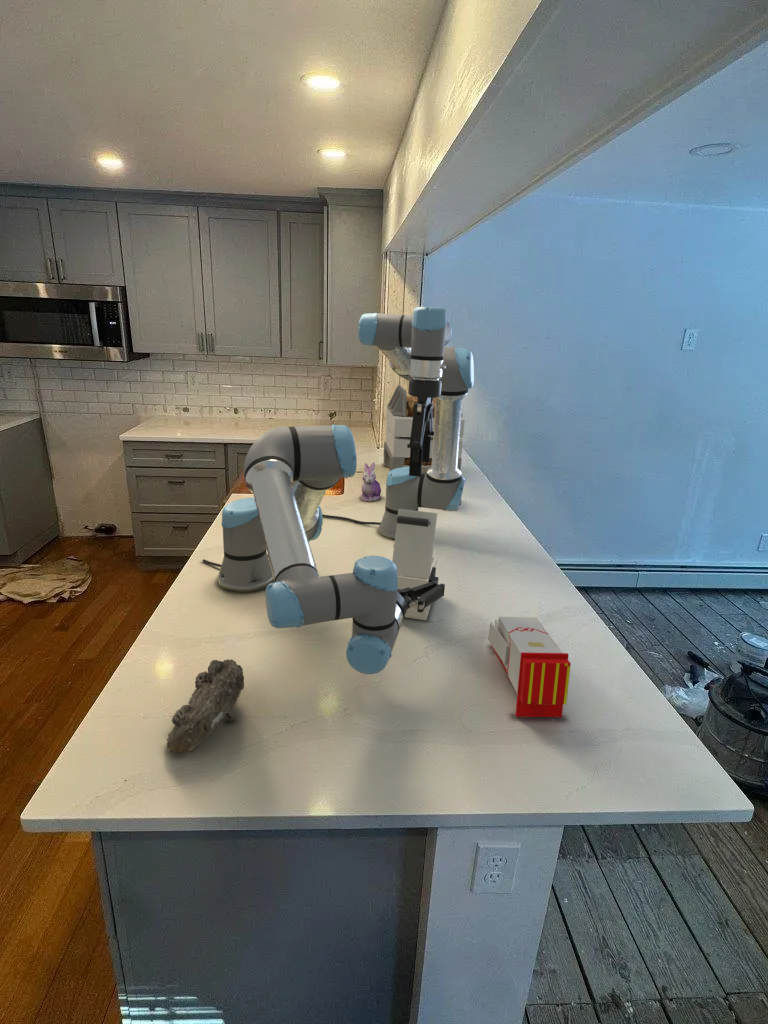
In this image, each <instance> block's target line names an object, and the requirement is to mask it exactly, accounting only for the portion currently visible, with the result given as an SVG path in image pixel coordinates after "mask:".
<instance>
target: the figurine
mask: <svg viewBox="0 0 768 1024" xmlns="http://www.w3.org/2000/svg"><path fill="white" fill-rule="evenodd" d="M363 468H364V470H363V471H364V472H363V474H362V481H363V483H362V485H361V496H360V498H361V500H362V501H364V502H373V501H377V500H380V499H381V495H382V487H381V484H380V482H379V481H378V480H376V479H377V476H376V473H375V468H376V462H372V463H371V465H370V466H369V464H367V462H365V463H364V464H363Z"/></svg>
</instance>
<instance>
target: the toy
mask: <svg viewBox="0 0 768 1024" xmlns="http://www.w3.org/2000/svg"><path fill="white" fill-rule="evenodd" d="M488 625H489V627H488V633H487V641H488V642H489V644H490V646H491V647H490V648H491V649H492V650H493V652H494V654H495V656H496V658H497V659H498V660H499V662H500V664H501V666H502V668H503V669H504V671H505V673H506V674H507V676H508V678H509V680H510V682H511V685H512V686H513V689H514V690H515V693H516V704H515V717H516V718H517V717H518V718H519V717H520V718H521V717H522V718H563V710H564V705H567V701H568V692H569V685H570V684H569V683H570V676H571V675H570V674H571V666H572V664H571V661H570V660H569V655H570V654H569V653H568V652H563V651H562V649H561V648H560V647H559V646H558V644H557V643H556V642H555V640H554V639H553V638H552V636H551V635H550V634H549V632H548V631H547V629H546V628H545V627H544V626H543V624H542V622H541V621H540V620H539V619H538V618H537V616H498V618H496V619H494V623H493V622H489V624H488Z"/></svg>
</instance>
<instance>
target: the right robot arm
mask: <svg viewBox="0 0 768 1024" xmlns="http://www.w3.org/2000/svg"><path fill="white" fill-rule="evenodd" d="M447 314H448V313H447V309H446V308H445V307H436V306H435V307H434V306H415V308H413V312H412V314H395V313H378V312H370V313H367V312H366V313H363V314H362V315H361V316H360V318H359V322H358V331H357V332H358V334H357V335H358V341H359V342H360V344H361V345H364V346H369V347H377V348H378V349H379V351H380V352H381V353H382V354H383V355H384V356H385V358H386V359H387V360H388V363H389V366H390V369H392V371H393V372H394V373H395V374H396V375H398V376H399V377H400V378H402V379H404V380H406V381H407V382H408V387H407V388H408V389H407V391H408V392H407V394H408V396H413V397H417V398H418V400H417V403H415V404H414V414H413V421H412V429H411V437H410V443H409V444H407V448H411V449H410V466H404V467H401V468H396V469H393V470H391V471H390V470H389V472H388V473H387V475H386V482H385V504H384V505H385V507H384V508H385V509H384V513H383V515H382V519H381V522H378V521H377V522H376V521H361V520H357V519H354V518H349V517H345V516H339V515H331V514H330V515H329V514H323V513H322V517H323V518H328V519H335V520H336V519H337V520H343V521H348V522H352V523H355V524H360V525H372V526H373V525H374V526H375V525H376V526H379V527H378V533H379V534H380V535H381V536H382V537H385V538H387V539H389V540H395V534H396V525H397V517H398V509H404V510H413V511H419V508H422V509H430V510H431V509H432V510H440V511H444V512H445V511H451V512H452V511H453V512H454V511H457V510H458V509H459V508H460V506H459V504H460V500H461V501H462V496H463V493H464V492H463V491H464V486H465V483H466V478H465V477H463V476H462V470H461V471H460V470H459V469H458V468H457V465H458V452H459V439H461V438H460V426H461V418H462V417H461V413H462V414H463V411H462V410H463V399H464V398H465V397H466V396H467V395H468V394H469V389H470V390H471V389H472V388H473V387H474V383H475V380H474V379H475V365H474V356H473V352H472V351H471V350H470V349H469V348H461V347H458V346H457V347H456V346H447V344H449V342H450V340H451V337H452V334H453V329H452V326H451V324H450V322H449V321H448V319H447ZM433 398H435V412H434V430H433V428H432V410H433ZM432 430H433V431H432ZM429 435H430V436H429ZM431 436H433V448H432V465H430V466H429V467H428V468H427V470H426V473H422V471H423V470H422V468H423V466H422V462H429V458H430V444H431Z"/></svg>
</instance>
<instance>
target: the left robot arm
mask: <svg viewBox="0 0 768 1024" xmlns="http://www.w3.org/2000/svg"><path fill="white" fill-rule="evenodd" d="M357 461H358V460H357V448H356V443H355V438H354V435H353V432H352V430H351V429H350V427H349V426H347V425H343V424H333V423H332V424H328V425H298V426H297V425H295V426H286V425H285V426H277V427H274V428H271V429H270V430H267V431H266V432H264V433H262V434H261V435H260V436H259V437H257V439H255V441H254V442H253V443H252V445H251V446H250V448H249V449H248V451H247V454H246V457H245V459H244V462H243V463H244V464H243V477H244V483H245V486H246V488H247V490H248V491H249V492H250V493H251V494H253V497H244V498H241V499H236V500H234V501H231V502H229V503H228V504H226V505H225V506H224V507H223V509H222V511H221V524H220V525H221V527H222V541H223V542H222V543H223V559H222V563H217V562H212V561H209V560H207V559H204V558H203V559H202V562H203V563H205V564H208V565H210V566H215V567H218V568H220V569H219V572H218V585H219V586H220V587H221V588H223V589H224V590H227V591H230V592H236V593H250V592H251V593H252V592H256V591H260V590H262V589H265V607H266V613H267V618H268V619H267V620H268V622H269V624H270V626H271V627H273V628H275V629H288V628H301V627H304V626H309V625H315V624H321V623H326V622H332V621H341V620H346V619H352V623H351V624H352V625H351V626H352V627H351V638H349V640H348V641H347V646H346V651H345V657H346V660H347V662H348V664H349V665H350V667H351V668H352V669H353V670H354V671H356V672H357V673H360V674H364V675H376V674H379V673H380V672H382V671H383V670H384V669H385V668H386V666H387V665H388V663H389V660H391V658H392V655H393V653H392V652H393V650H394V647H395V645H396V641H397V638H398V635H399V633H400V630H401V627H402V625H403V622H404V620H405V618H406V617H405V614H406V611H407V609H409V608H410V607H413V608H417V612H420V613H421V612H423V611H424V609H425V608H426V607H427V606H429V605H430V604H431V605H432V604H434V603H435V602H436V601H438V600H440V599H441V598H443V597H444V596H445V588H446V584H445V583H439V580H440V579H439V578H440V577H439V576H436V577H435V572H436V573H437V566H436V567H432V570H431V574H430V577H429V581H428V583H426V584H423V585H420V586H417V587H414V588H410V587H408V588H405V589H398V574H397V567H396V565H395V564H394V563H393V561H392V560H391V559H390V558H387V557H385V556H382V555H366V556H363V557H362V558H361V557H360V558H358V559H357V560H356V561H355V562H354V565H353V568H352V572H349V573H340V574H332V575H325V576H320V575H319V571H318V567H317V564H316V561H315V558H314V555H313V551H312V548H311V545H310V542H311V541H312V542H313V541H316V540H317V539H318V538H319V537H320V535H321V534H322V531H323V528H322V527H323V525H324V524H323V523H324V521H323V520H324V517H322V514H323V512H322V508H321V505H320V504H321V503H322V500H323V498H324V497H325V494H326V492H327V491H328V490H330V489H332V488H333V487H335V486H336V485H338V483H339V481H340V479H342V478H343V479H348V478H353V477H354V476H355V475H356V472H357V463H358V462H357Z"/></svg>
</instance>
